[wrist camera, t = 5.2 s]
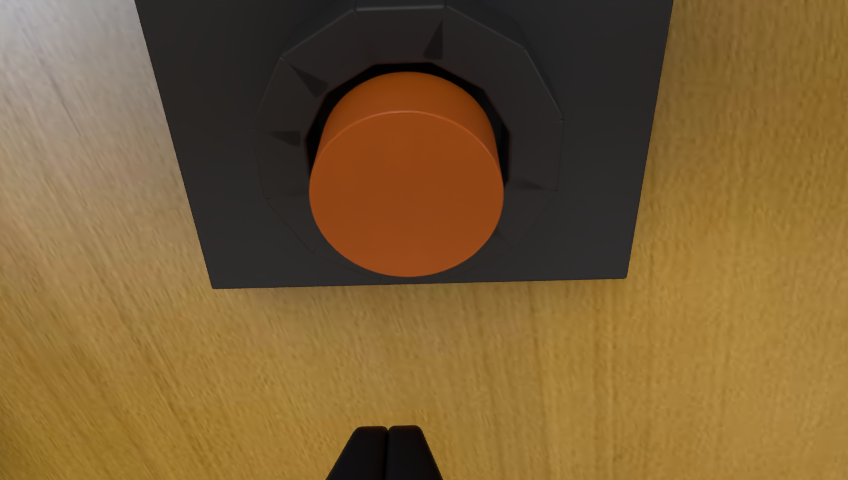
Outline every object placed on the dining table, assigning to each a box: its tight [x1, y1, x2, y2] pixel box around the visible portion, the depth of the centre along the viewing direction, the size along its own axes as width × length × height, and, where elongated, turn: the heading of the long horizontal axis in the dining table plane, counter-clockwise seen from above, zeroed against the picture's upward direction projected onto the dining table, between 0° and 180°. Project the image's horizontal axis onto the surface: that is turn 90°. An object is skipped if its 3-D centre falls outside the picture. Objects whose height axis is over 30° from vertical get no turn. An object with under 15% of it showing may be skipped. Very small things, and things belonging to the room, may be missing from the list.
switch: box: [309, 72, 504, 277], centre depth 15 cm, size 4×4×2 cm
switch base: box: [134, 0, 673, 289], centre depth 17 cm, size 12×10×4 cm
